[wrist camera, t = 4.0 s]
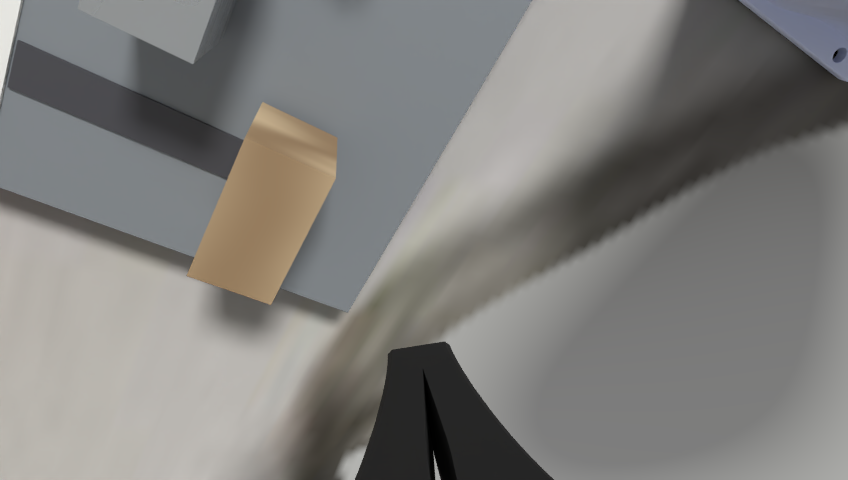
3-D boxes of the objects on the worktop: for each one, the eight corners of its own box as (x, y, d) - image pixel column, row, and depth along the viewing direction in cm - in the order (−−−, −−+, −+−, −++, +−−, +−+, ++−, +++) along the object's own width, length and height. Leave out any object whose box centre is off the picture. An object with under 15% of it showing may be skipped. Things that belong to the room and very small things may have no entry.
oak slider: (337, 137, 17) (335, 178, 14) (282, 249, 18) (271, 305, 16) (262, 101, 16) (244, 137, 13) (211, 221, 17) (186, 275, 15)
